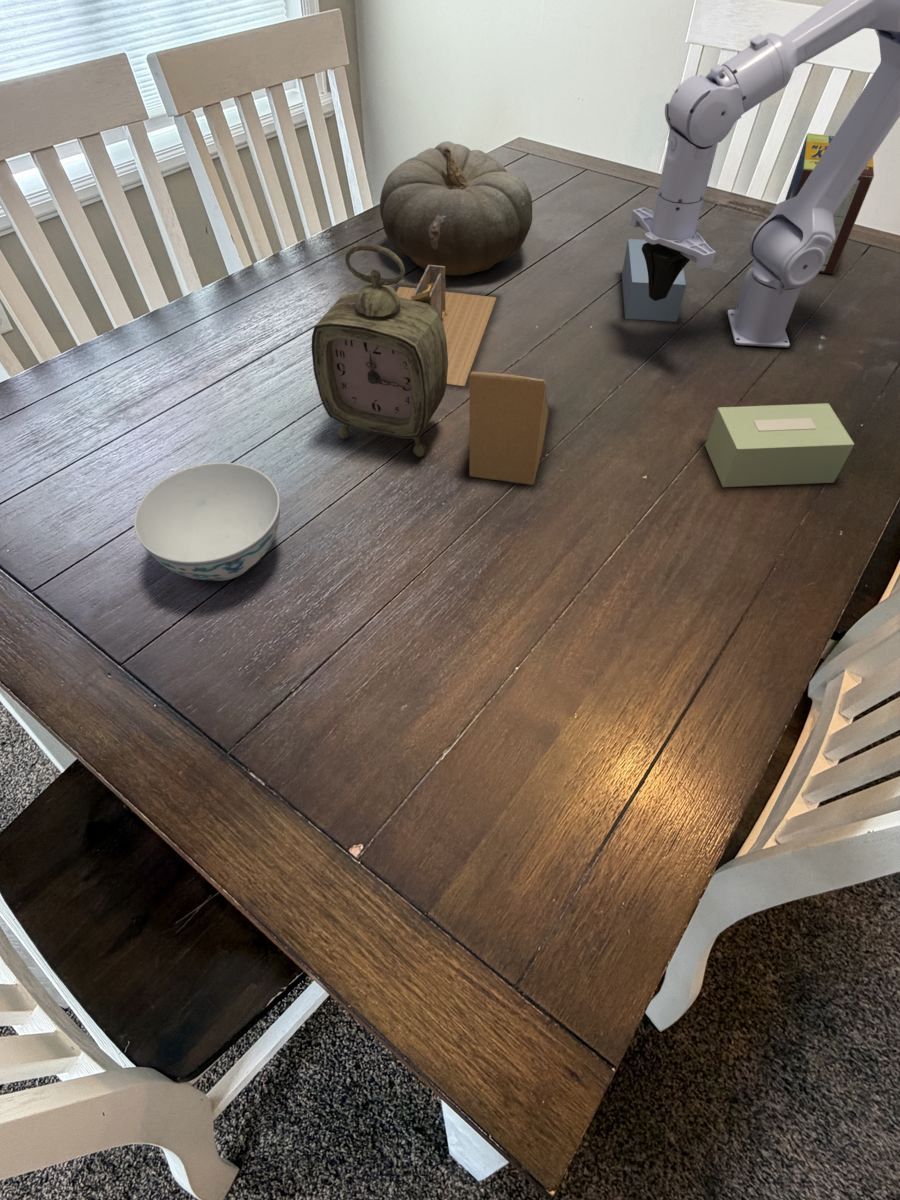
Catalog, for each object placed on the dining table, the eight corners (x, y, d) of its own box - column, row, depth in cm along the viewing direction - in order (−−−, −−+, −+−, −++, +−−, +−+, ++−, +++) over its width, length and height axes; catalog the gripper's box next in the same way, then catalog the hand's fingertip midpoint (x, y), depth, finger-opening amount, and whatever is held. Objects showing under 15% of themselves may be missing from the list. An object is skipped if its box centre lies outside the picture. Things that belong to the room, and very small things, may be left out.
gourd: (441, 193, 137) (447, 93, 122) (551, 251, 131) (572, 154, 116) (355, 258, 127) (350, 157, 112) (470, 324, 121) (481, 228, 106)
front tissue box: (704, 445, 95) (717, 406, 90) (810, 441, 95) (829, 401, 90) (722, 487, 90) (737, 447, 85) (834, 482, 90) (855, 443, 85)
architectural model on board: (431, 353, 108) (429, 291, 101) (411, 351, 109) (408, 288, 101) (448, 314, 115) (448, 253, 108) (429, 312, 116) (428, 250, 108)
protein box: (835, 235, 132) (873, 139, 120) (833, 275, 123) (875, 176, 110) (774, 227, 134) (806, 131, 122) (769, 266, 125) (803, 167, 113)
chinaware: (228, 631, 76) (209, 584, 70) (128, 574, 81) (102, 525, 75) (318, 543, 84) (308, 493, 78) (222, 496, 89) (205, 445, 83)
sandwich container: (551, 411, 100) (564, 307, 88) (535, 485, 90) (547, 381, 78) (489, 403, 101) (493, 300, 89) (467, 476, 91) (469, 371, 80)
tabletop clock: (325, 442, 95) (293, 251, 76) (354, 403, 101) (331, 215, 81) (428, 467, 92) (422, 274, 73) (453, 425, 98) (453, 235, 78)
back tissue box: (621, 274, 123) (628, 237, 118) (669, 277, 122) (678, 240, 118) (624, 319, 114) (632, 280, 109) (676, 321, 114) (686, 283, 109)
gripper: (620, 179, 94) (603, 281, 105) (694, 223, 86) (667, 329, 97) (663, 168, 96) (642, 269, 107) (739, 211, 88) (709, 315, 99)
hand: (657, 297), depth 102 cm, fingers closed
